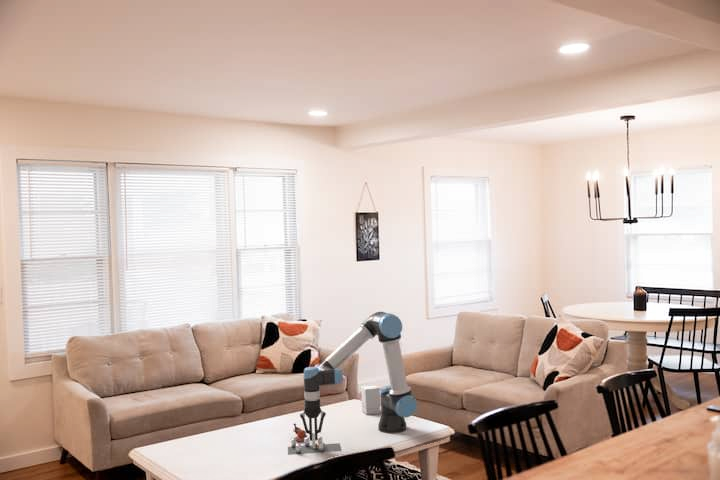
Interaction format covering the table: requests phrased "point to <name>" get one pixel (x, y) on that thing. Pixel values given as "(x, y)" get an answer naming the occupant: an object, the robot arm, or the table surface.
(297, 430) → the figurine
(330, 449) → the mat
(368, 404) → the supplement box
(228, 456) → the table surface
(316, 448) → the nut
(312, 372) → the robot arm
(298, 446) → the spacer field
